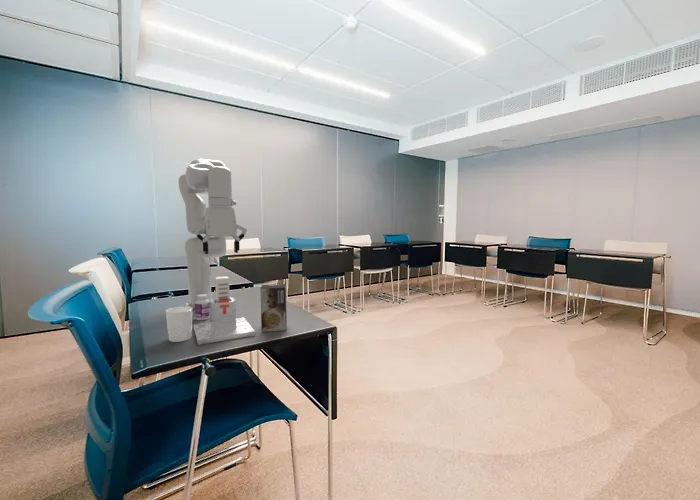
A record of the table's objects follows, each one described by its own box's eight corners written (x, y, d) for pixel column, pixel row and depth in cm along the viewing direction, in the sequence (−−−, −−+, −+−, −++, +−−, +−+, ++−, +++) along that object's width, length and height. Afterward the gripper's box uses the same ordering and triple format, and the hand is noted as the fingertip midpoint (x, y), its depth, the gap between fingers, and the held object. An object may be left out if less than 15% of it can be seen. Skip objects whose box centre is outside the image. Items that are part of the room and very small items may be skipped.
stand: (193, 328, 118) (192, 294, 117) (244, 321, 127) (243, 290, 125) (197, 344, 102) (196, 306, 101) (254, 335, 111) (254, 300, 110)
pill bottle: (204, 321, 126) (203, 297, 125) (192, 320, 127) (191, 296, 126) (212, 317, 131) (212, 294, 130) (201, 316, 132) (200, 293, 131)
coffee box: (287, 325, 122) (286, 283, 121) (286, 330, 116) (286, 287, 115) (262, 326, 121) (261, 284, 119) (260, 332, 115) (260, 287, 113)
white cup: (165, 344, 102) (164, 313, 101) (168, 336, 109) (167, 307, 108) (192, 341, 105) (191, 311, 104) (194, 333, 113) (193, 305, 112)
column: (215, 326, 115) (214, 277, 113) (228, 324, 117) (227, 276, 116) (217, 330, 111) (216, 279, 109) (231, 328, 113) (229, 278, 112)
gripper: (243, 205, 118) (244, 251, 119) (191, 203, 109) (193, 253, 110) (248, 204, 111) (249, 253, 113) (193, 202, 103) (195, 255, 104)
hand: (221, 253), depth 112 cm, fingers open, 9 cm apart
